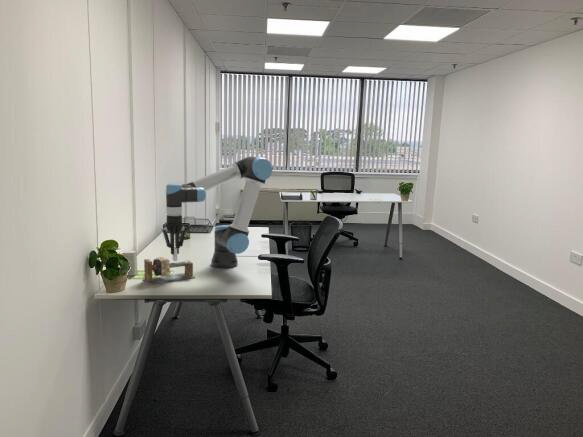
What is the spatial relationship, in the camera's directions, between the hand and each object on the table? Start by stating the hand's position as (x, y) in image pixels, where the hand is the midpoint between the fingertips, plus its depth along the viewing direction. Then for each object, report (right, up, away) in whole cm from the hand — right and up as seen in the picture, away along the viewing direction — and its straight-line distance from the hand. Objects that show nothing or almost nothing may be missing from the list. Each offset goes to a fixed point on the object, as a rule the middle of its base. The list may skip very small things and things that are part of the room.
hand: (175, 260), depth 221 cm
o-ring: (-8, -7, -4) cm, 11 cm away
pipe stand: (-3, -10, 0) cm, 10 cm away
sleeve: (-5, -7, -2) cm, 9 cm away
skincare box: (-25, -8, +5) cm, 26 cm away
